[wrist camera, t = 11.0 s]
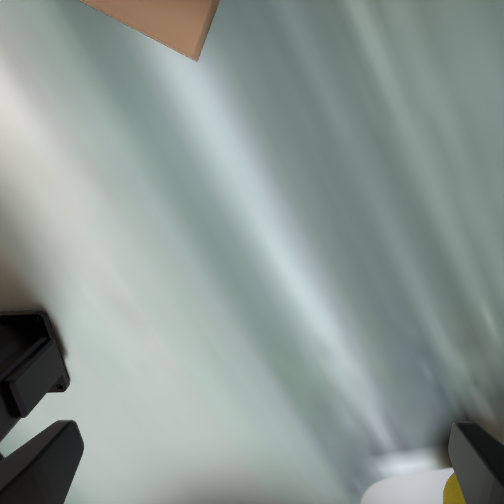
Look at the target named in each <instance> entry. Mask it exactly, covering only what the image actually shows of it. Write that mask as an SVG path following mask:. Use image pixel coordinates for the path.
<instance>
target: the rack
mask: <svg viewBox="0 0 504 504" xmlns="http://www.w3.org/2000/svg"><path fill="white" fill-rule="evenodd" d="M79 1H81V2H83V3H85V4H87V5H89V6H91V7H93V8H95V9H97V10H99V11H100V12H102V13H104V14H106V15H108V16H110V17H112V18H114V19H116V20H118V21H120V22H122V23H123V24H125V25H127V26H129V27H131V28H133V29H135V30H137V31H139V32H141V33H143V34H144V35H146V36H148V37H150V38H152V39H154V40H156V41H158V42H160V43H162V44H164V45H165V46H167V47H169V48H171V49H173V50H175V51H177V52H179V53H181V54H183V55H185V56H187V57H188V58H190V59H192V60H194V61H196V62H197V61H198V59H199V56H200V53H201V50H202V48H203V45H204V42H205V39H206V37H207V34H208V31H209V28H210V26H211V23H212V20H213V17H214V15H215V12H216V9H217V6H218V4H219V1H220V0H79Z"/></svg>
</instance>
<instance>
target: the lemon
mask: <svg viewBox="0 0 504 504" xmlns="http://www.w3.org/2000/svg"><path fill="white" fill-rule="evenodd" d="M443 504H466V503H465V500H464V497H463V494H462V492H461V489H460V486H459V483H458V480H457V477H456V475H455V473H453V474H452V475H451V476H450V478H449V479H448V481H447V482H446V485H445V488H444V492H443Z"/></svg>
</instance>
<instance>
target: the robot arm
mask: <svg viewBox="0 0 504 504" xmlns="http://www.w3.org/2000/svg"><path fill="white" fill-rule="evenodd" d="M37 317H38V318H39V319H40V320H39V319H38V318H37ZM69 385H70V383H69V380H68V377H67V374H66V371H65V368H64V365H63V361H62V358H61V355H60V352H59V349H58V346H57V343H56V340H55V337H54V334H53V331H52V328H51V325H50V322H49V319H48V317H47V315H46V314H45V313H44V312H42V311H20V312H0V442H1V441H2V440H3V439H4V437H5V436H6V435H7V434H8V433H9V432H10V430H11V429H12V428H13V427H14V426H15V425H16V423H17V422H18V421H19V420H20V419H21V418H25V417H27V416H28V414H29V413H30V412H31V411H32V410H33V408H34V407H35V406H36V405H37V404H38V403H39V401H40V400H41V399H42V398H43V397H44V395H45V394H46V393H52V392H64V391H66V390H67V388H68V387H69ZM83 450H84V442H83V439H82V437H81V434H80V431H79V428H78V426H77V423H76V422H75V421H74V420H59V421H56V422H54V423H53V424H52V425H50V426H49V427H47V428H46V429H45V430H43V431H42V432H40V433H39V434H38V435H36V436H35V437H34V438H32V439H31V440H29V441H28V442H27V443H25V444H24V445H23V446H21V447H20V448H18V449H17V450H16V451H14V452H13V453H11V454H10V455H9V456H7V457H6V458H5V456H4V455H3V454H2V453H1V452H0V504H64V501H65V499H66V496H67V493H68V491H69V488H70V486H71V483H72V480H73V478H74V475H75V473H76V470H77V467H78V465H79V462H80V460H81V457H82V454H83ZM448 452H449V457H450V461H451V463H452V466H453V469H454V472H455V475H456V477H457V480H458V483H459V486H460V489H461V492H462V494H463V497H464V500H465V503H466V504H504V445H503V444H502V443H500V442H499V441H498V440H497V439H495V438H494V437H493V436H492V435H490V434H489V433H488V432H487V431H485V430H484V429H483V428H481V427H480V426H479V425H478V424H476V423H474V422H470V421H456V422H454V423H453V424H452V428H451V434H450V440H449V446H448Z"/></svg>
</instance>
